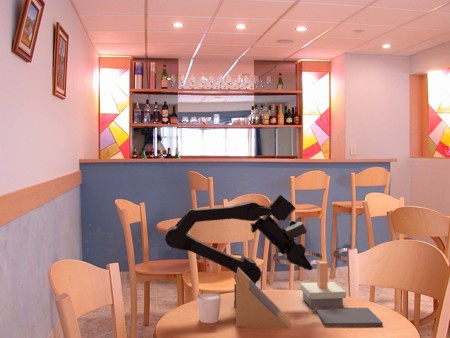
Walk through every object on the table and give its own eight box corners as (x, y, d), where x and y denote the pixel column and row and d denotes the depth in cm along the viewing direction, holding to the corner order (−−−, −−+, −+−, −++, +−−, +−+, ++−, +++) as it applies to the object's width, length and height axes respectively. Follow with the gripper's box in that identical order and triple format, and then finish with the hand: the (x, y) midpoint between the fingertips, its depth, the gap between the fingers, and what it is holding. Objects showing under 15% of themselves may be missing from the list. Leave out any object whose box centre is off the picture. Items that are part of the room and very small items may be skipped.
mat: (324, 326, 134) (324, 323, 134) (315, 311, 147) (315, 308, 147) (382, 326, 135) (382, 322, 134) (367, 310, 148) (367, 307, 147)
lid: (309, 299, 149) (309, 266, 149) (300, 288, 161) (300, 258, 160) (345, 298, 151) (345, 265, 150) (333, 287, 162) (334, 258, 162)
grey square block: (311, 308, 150) (311, 295, 150) (302, 298, 160) (302, 286, 160) (342, 307, 151) (342, 294, 151) (332, 297, 161) (332, 285, 161)
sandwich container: (291, 329, 133) (292, 275, 132) (235, 327, 134) (235, 273, 134) (290, 319, 141) (290, 267, 141) (237, 317, 143) (237, 266, 142)
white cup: (193, 322, 138) (193, 297, 138) (202, 314, 144) (202, 291, 144) (215, 325, 136) (215, 300, 135) (224, 317, 142) (224, 293, 142)
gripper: (298, 217, 145) (334, 253, 146) (284, 210, 163) (316, 242, 165) (272, 244, 144) (308, 280, 146) (261, 234, 163) (293, 266, 164)
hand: (307, 265), depth 155 cm, fingers open, 9 cm apart
